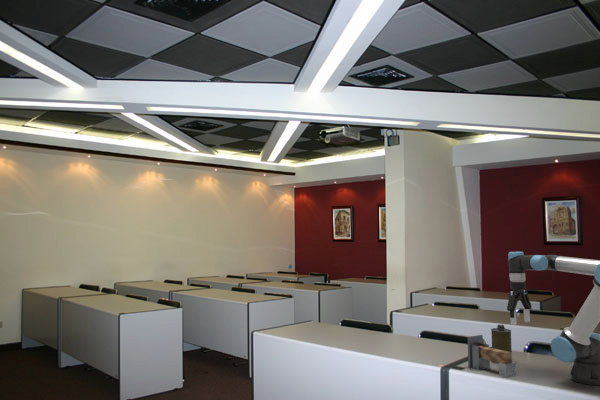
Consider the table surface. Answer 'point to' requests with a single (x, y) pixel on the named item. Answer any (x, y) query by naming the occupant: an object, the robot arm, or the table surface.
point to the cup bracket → (476, 353)
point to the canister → (501, 339)
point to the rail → (495, 355)
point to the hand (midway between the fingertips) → (520, 323)
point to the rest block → (507, 369)
